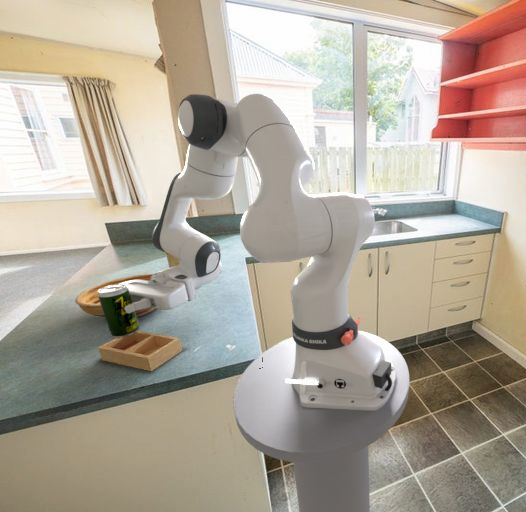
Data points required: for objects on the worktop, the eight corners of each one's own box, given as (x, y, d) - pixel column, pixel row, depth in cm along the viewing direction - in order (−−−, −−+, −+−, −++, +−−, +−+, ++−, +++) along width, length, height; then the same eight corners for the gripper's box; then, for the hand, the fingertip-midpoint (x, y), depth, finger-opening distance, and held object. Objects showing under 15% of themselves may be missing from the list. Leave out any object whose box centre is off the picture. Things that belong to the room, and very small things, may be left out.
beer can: (106, 340, 70) (90, 293, 66) (122, 327, 75) (108, 284, 71) (131, 338, 70) (116, 292, 66) (145, 326, 75) (132, 283, 71)
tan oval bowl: (60, 319, 89) (51, 295, 87) (146, 288, 111) (141, 268, 108) (120, 340, 79) (111, 314, 76) (202, 301, 100) (198, 280, 98)
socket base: (182, 350, 75) (179, 338, 74) (151, 371, 68) (147, 358, 66) (136, 341, 79) (133, 329, 78) (102, 360, 71) (97, 347, 70)
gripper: (137, 271, 84) (78, 291, 71) (195, 278, 79) (143, 301, 66) (142, 291, 85) (86, 314, 73) (200, 299, 81) (150, 326, 68)
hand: (114, 308), depth 69 cm, fingers closed on beer can, 5 cm apart
